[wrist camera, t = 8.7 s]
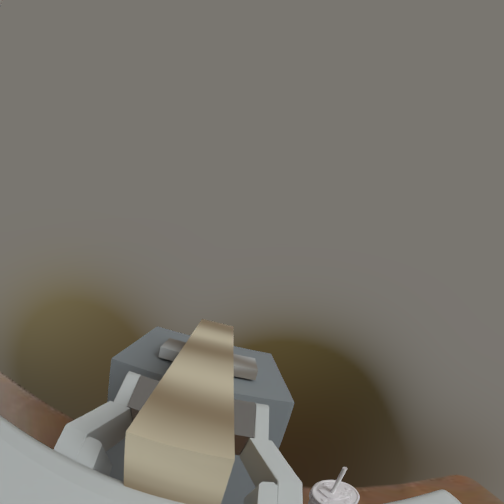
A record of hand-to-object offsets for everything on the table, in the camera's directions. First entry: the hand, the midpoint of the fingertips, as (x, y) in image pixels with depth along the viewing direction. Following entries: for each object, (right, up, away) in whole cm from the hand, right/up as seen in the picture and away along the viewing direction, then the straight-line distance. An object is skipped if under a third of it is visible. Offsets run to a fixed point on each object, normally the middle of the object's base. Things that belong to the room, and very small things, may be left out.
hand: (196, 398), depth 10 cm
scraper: (-1, -2, +3) cm, 4 cm away
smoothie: (+10, -33, +13) cm, 37 cm away
